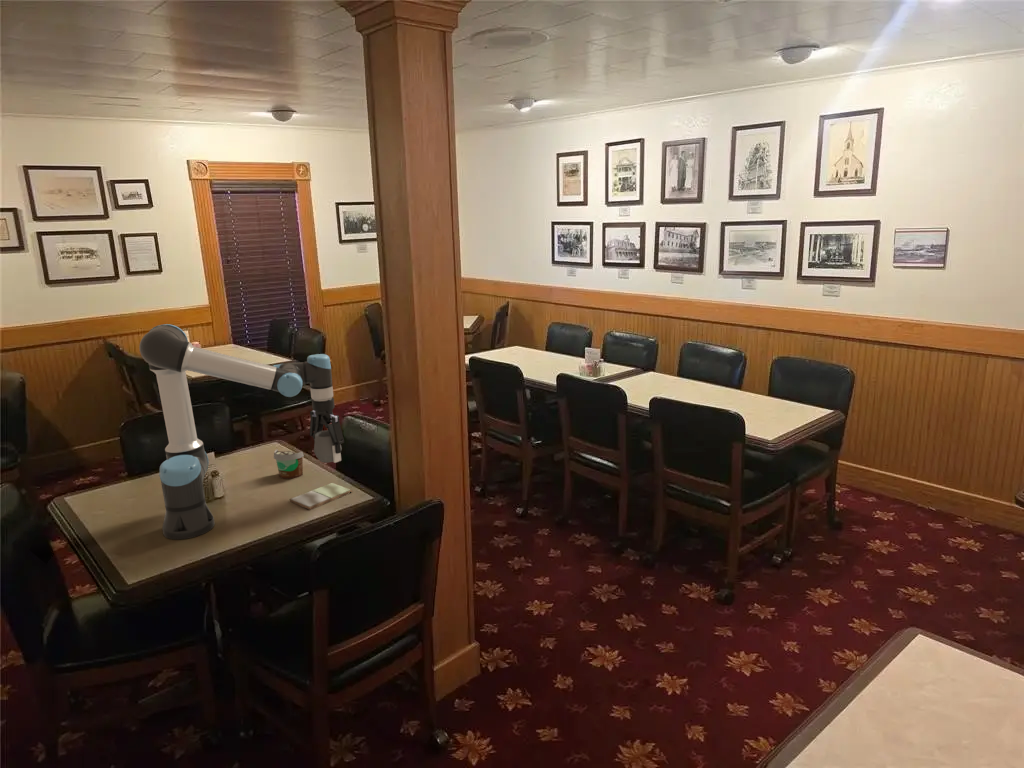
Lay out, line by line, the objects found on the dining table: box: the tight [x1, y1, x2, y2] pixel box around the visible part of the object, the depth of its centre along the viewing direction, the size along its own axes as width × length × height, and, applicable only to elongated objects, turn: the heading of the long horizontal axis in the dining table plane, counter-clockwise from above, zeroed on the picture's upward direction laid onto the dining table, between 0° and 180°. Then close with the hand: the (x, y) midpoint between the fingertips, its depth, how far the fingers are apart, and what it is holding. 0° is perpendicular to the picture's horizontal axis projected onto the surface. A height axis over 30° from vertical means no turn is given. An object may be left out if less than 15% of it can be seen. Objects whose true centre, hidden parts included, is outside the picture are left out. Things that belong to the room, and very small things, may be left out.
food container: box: [273, 448, 305, 480], centre depth 256 cm, size 12×6×10 cm, turn 73°
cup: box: [313, 429, 342, 463], centre depth 237 cm, size 10×9×10 cm
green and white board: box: [289, 482, 353, 510], centre depth 238 cm, size 18×12×1 cm, turn 142°
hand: (328, 458), depth 238 cm, fingers closed on cup, 9 cm apart
